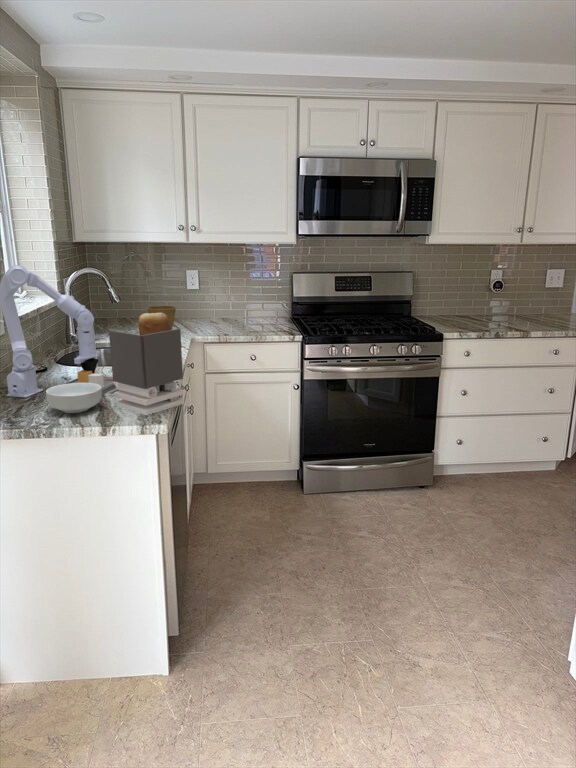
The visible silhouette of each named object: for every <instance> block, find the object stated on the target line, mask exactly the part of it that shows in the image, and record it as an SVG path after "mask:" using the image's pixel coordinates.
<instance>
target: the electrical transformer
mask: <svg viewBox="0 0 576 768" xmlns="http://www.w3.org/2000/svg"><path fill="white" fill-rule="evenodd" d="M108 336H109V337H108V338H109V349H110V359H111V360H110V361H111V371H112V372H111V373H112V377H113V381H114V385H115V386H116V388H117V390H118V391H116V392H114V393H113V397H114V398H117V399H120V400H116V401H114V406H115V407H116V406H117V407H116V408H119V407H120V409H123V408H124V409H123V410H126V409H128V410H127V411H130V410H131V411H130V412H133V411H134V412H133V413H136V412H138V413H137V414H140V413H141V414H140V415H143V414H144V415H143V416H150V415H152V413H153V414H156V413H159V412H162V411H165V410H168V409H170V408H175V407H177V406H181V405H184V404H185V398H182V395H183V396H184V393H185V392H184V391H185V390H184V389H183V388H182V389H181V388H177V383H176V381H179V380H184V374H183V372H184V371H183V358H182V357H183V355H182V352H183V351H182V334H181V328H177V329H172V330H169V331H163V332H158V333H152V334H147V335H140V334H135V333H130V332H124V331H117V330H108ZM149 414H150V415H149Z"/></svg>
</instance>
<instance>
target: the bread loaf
mask: <svg viewBox="0 0 576 768" xmlns="http://www.w3.org/2000/svg"><path fill="white" fill-rule="evenodd" d="M169 330H170V325H169V321H168V318H167V316H166V315H165V314H163V313H148V312H145V313H142V314H141V315H139V317H138V333H139V334H138V335H147V334H152V333H158V332H163V331H169Z"/></svg>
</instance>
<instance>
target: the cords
mask: <svg viewBox="0 0 576 768" xmlns="http://www.w3.org/2000/svg"><path fill="white" fill-rule="evenodd" d="M77 380H78V377H77V378H74V379H73V380H71V381H67V382H66V383H65V384H69V383H73V382H75V381H77ZM118 391H119V390H117V388H114V389H112V390H110V391H109V393H110V395H111V394H114V392H118Z"/></svg>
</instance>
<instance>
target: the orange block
mask: <svg viewBox="0 0 576 768" xmlns="http://www.w3.org/2000/svg"><path fill="white" fill-rule="evenodd" d="M76 373H77V378H78V383H89V380H88V375H90V374H92V371H86V370H83V369H82V370H79V371H77V372H76Z"/></svg>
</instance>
